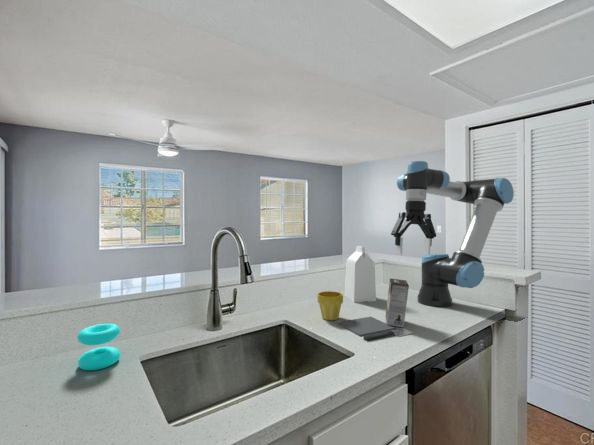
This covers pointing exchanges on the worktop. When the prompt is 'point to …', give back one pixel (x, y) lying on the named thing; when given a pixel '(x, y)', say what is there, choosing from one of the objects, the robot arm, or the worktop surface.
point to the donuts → (100, 355)
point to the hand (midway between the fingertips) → (413, 254)
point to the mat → (365, 326)
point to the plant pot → (330, 304)
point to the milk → (360, 277)
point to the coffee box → (396, 302)
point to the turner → (388, 334)
